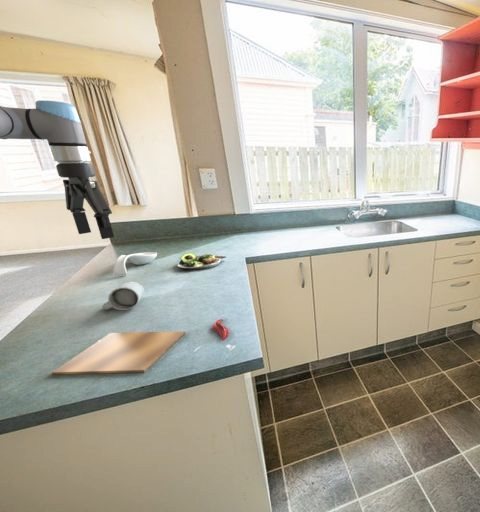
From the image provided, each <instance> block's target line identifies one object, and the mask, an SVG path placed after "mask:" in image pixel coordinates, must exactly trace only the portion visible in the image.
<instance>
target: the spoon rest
mask: <svg viewBox="0 0 480 512" xmlns="http://www.w3.org/2000/svg"><path fill="white" fill-rule="evenodd" d="M157 256H158V252H156V251H147V252H139V253H132V254H128V255H127V254H126V255H125V254H121V255H120V256H118V257H117V258H116V261H115V263H114V265H113V276H114V277H119V276H120V277H121V276H128V274H129V273H128V270H127V268H126V263H127V262H129V263H131V264H133V265H135V266H140V265H147V264H149V263H151V262H153V261H154V260H155V259H156V258H157Z"/></svg>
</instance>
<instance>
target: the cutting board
mask: <svg viewBox="0 0 480 512" xmlns="http://www.w3.org/2000/svg"><path fill="white" fill-rule="evenodd" d="M184 335H186V331H185V330H184V331H182V330H181V331H133V332H131V331H130V332H110V333H108V334H106V335H105V336H104V337H102V338H100V339H99V340H98V341H96V342H94V343H93V344H91V345H90V346H88V347H87V348H86V349H84V350H83V351H82V352H80V353H78V354H77V355H76V356H74V357H73V358H71V359H69V360H68V361H66V362H65V363H63V364H62V365H61V366H59V367H57V368H56V369H55V370H53V371H52V372H51V374H52V375H54V376H55V375H89V374H92V375H93V374H123V373H124V374H125V373H127V374H128V373H129V374H130V373H146V371H147V370H149V368H151V367H152V366H153V365H154V364H155V363H157V361H158V360H159V359H160V358H161V357H162V356H163V355H164V354H166V353H167V352H168V351H169V350H170V349H171V348H172V347H173V346H174V345H175V344H176V343H177V342H179V340H180V339H181V338H183V336H184Z"/></svg>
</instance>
